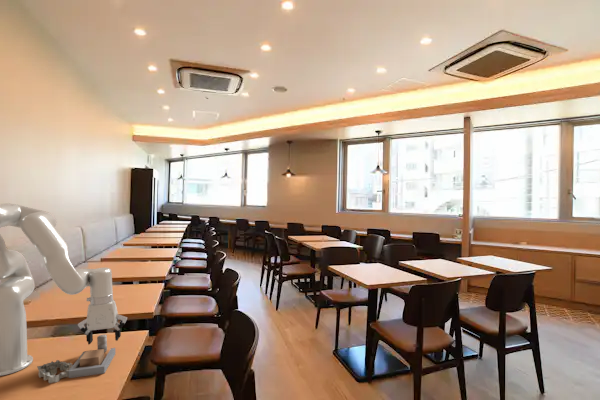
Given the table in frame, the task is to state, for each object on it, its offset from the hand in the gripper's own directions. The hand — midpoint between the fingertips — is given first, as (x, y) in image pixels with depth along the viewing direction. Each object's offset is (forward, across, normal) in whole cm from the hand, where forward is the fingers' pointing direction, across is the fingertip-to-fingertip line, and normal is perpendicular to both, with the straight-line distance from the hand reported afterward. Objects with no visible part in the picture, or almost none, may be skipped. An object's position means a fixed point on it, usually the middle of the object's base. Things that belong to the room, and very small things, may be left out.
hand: (104, 340), depth 127 cm
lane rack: (+4, -1, -9) cm, 10 cm away
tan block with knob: (+5, -1, -6) cm, 8 cm away
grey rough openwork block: (+5, -12, -13) cm, 18 cm away
